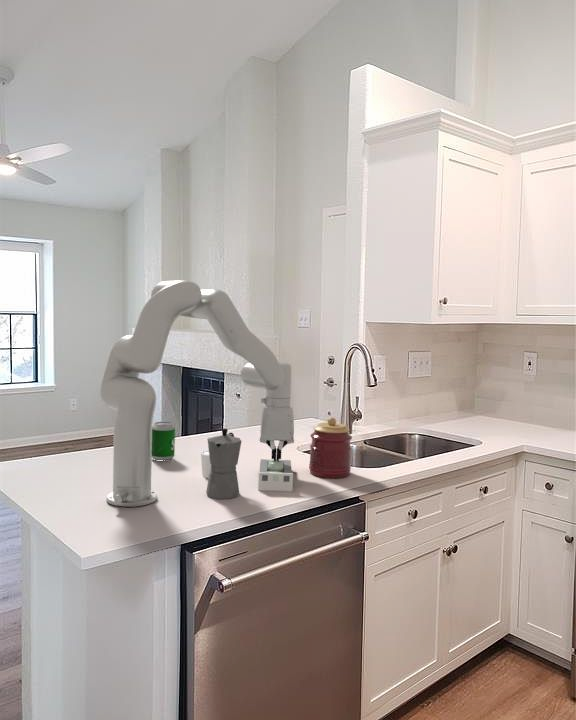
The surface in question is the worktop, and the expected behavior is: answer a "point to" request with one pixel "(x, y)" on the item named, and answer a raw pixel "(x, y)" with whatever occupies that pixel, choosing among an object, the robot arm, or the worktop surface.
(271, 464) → the button middle
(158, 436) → the soda can
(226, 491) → the coffeepot
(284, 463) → the button board
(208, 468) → the white cup
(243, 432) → the worktop surface
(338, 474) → the canister
